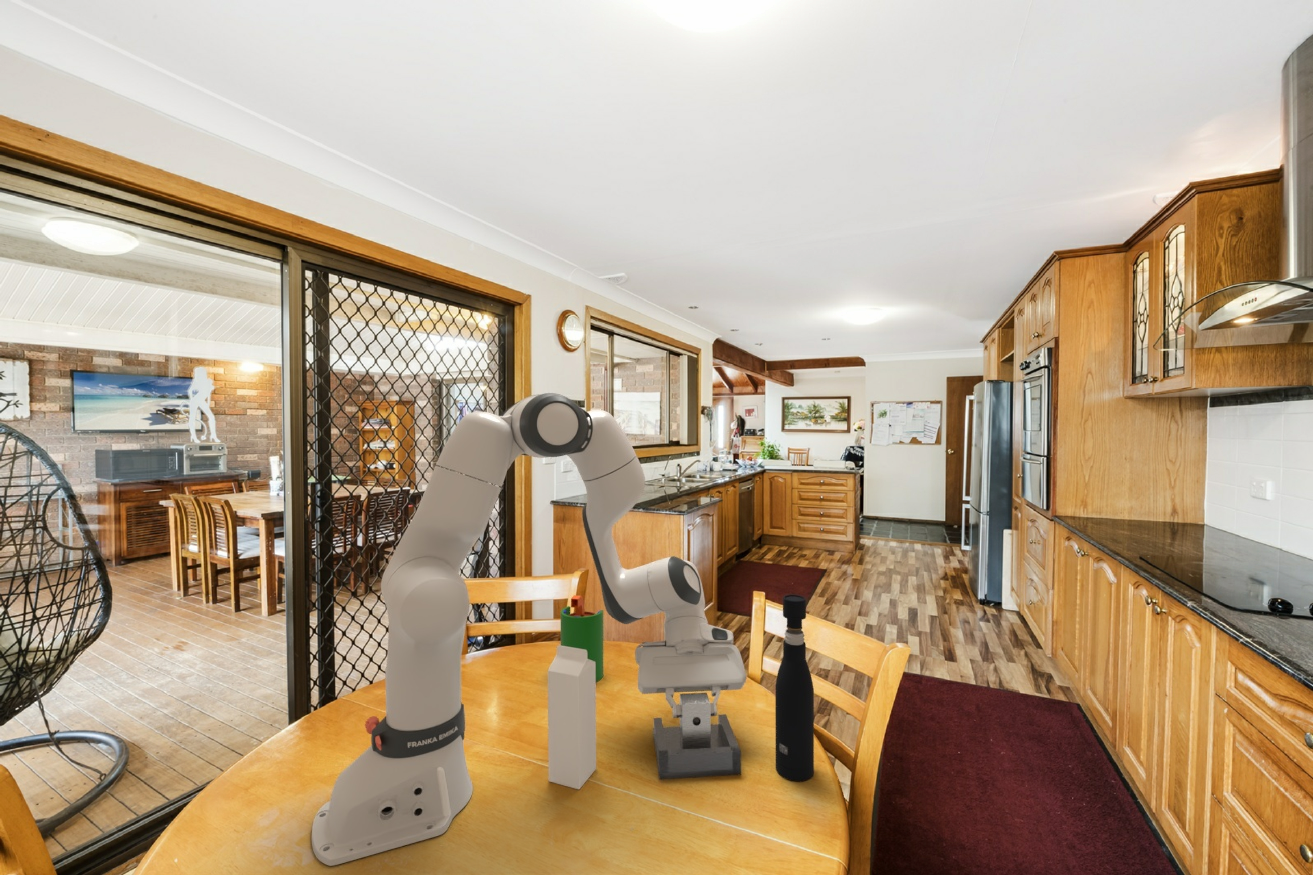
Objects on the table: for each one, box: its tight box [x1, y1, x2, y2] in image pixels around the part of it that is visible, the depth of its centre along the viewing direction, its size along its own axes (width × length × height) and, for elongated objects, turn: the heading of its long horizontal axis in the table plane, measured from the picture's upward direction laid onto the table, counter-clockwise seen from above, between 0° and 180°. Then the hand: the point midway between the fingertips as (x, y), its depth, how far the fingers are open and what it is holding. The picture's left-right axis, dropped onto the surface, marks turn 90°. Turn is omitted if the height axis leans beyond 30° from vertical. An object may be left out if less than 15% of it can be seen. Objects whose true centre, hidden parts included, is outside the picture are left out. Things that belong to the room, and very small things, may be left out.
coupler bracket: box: [652, 714, 742, 780], centre depth 99 cm, size 14×14×4 cm
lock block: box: [679, 692, 712, 749], centre depth 97 cm, size 4×5×9 cm
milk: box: [547, 644, 597, 790], centre depth 92 cm, size 6×6×22 cm
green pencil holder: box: [560, 594, 604, 683], centre depth 129 cm, size 10×9×20 cm
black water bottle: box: [774, 594, 815, 783], centre depth 93 cm, size 6×6×30 cm
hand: (695, 716), depth 96 cm, fingers closed on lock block, 5 cm apart
